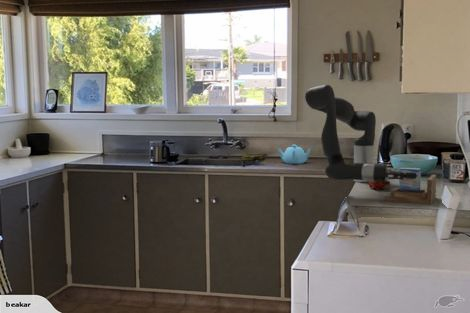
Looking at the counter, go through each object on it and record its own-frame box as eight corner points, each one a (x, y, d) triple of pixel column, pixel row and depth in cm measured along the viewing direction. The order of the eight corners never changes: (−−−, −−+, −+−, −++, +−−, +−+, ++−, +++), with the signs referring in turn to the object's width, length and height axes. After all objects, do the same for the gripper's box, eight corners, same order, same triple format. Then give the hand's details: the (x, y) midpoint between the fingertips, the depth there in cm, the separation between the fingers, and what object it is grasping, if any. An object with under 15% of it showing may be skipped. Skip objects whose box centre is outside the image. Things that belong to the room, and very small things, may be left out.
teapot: (313, 163, 357) (313, 144, 356) (293, 165, 349) (293, 146, 347) (295, 160, 370) (295, 142, 368) (276, 162, 361) (276, 144, 360)
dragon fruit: (371, 189, 278) (385, 197, 267) (359, 179, 274) (372, 188, 263) (382, 174, 277) (397, 182, 266) (370, 164, 274) (384, 172, 263)
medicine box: (398, 189, 244) (399, 168, 243) (400, 188, 248) (400, 167, 247) (419, 191, 241) (420, 169, 240) (420, 189, 246) (421, 167, 244)
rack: (390, 194, 256) (391, 172, 255) (435, 197, 248) (436, 174, 247) (383, 200, 243) (384, 177, 242) (430, 204, 236) (431, 179, 234)
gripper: (370, 165, 243) (414, 168, 236) (378, 161, 256) (420, 163, 249) (370, 184, 244) (413, 187, 237) (378, 178, 257) (419, 181, 250)
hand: (416, 175), depth 243 cm, fingers closed on medicine box, 4 cm apart
